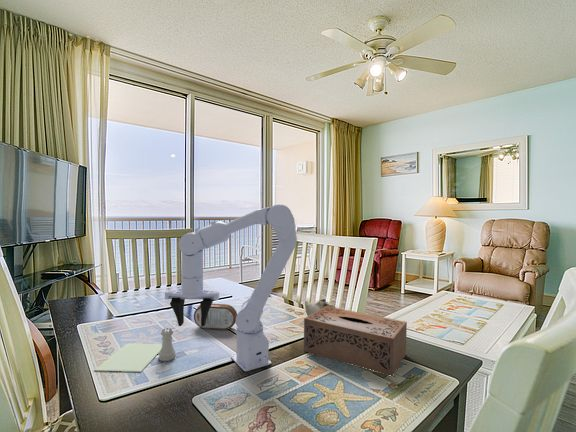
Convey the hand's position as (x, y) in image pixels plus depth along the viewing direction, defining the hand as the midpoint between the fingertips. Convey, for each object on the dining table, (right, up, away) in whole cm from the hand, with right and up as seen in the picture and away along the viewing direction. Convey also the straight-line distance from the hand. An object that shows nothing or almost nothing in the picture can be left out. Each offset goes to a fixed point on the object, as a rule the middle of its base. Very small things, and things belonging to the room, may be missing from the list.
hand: (192, 325), depth 89 cm
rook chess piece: (-7, -10, 0) cm, 12 cm away
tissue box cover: (+46, -10, +5) cm, 47 cm away
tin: (+1, -9, +23) cm, 24 cm away
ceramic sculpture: (+40, -9, +31) cm, 51 cm away
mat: (-17, -9, +1) cm, 19 cm away
